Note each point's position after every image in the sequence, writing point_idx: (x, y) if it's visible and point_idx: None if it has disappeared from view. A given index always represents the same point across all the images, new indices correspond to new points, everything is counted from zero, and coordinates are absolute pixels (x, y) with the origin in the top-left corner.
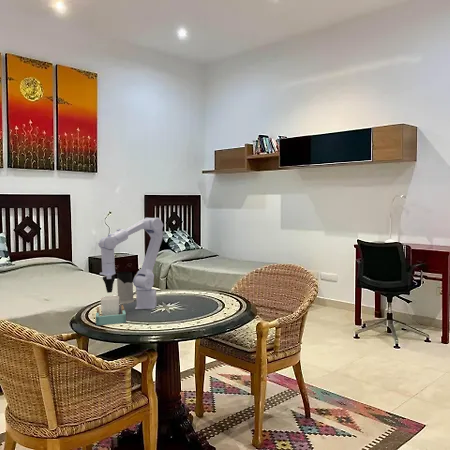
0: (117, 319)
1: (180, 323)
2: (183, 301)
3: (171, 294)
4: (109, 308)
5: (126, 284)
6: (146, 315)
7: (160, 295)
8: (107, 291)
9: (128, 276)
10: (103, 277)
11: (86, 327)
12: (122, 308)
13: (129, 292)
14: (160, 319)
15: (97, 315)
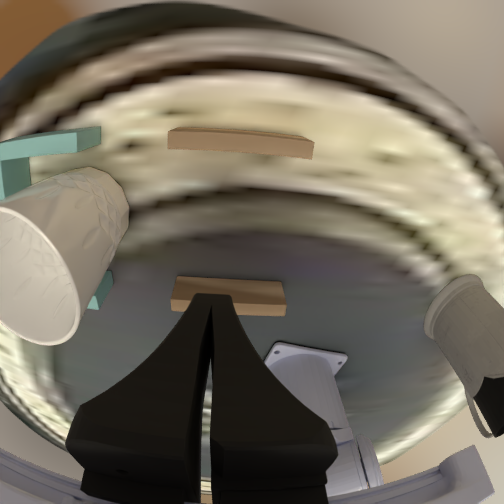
0: None
1: (37, 394)
2: None
3: (417, 421)
4: (5, 239)
5: (474, 381)
6: (139, 361)
7: (433, 400)
8: (192, 303)
9: (490, 420)
10: (158, 464)
11: (6, 93)
12: (176, 303)
13: (450, 358)
14: (75, 377)
15: (16, 150)
